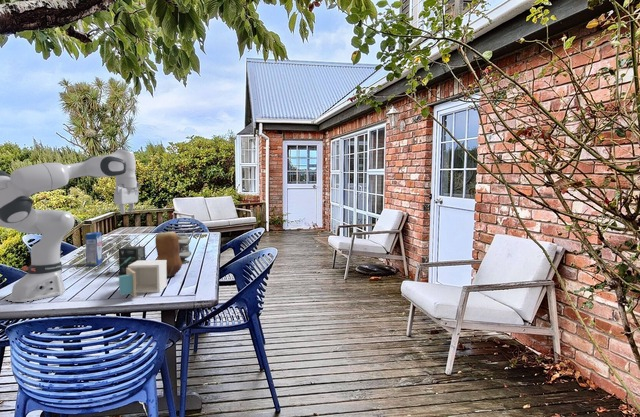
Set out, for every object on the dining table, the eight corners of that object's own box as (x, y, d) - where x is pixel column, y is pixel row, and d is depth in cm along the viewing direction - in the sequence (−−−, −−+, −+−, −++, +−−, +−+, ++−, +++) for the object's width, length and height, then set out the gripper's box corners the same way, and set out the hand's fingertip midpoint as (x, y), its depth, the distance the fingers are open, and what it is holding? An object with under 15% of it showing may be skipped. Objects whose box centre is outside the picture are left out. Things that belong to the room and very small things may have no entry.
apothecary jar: (168, 263, 250) (167, 235, 249) (184, 260, 259) (184, 233, 258) (177, 265, 242) (177, 237, 241) (195, 262, 251) (194, 235, 250)
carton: (159, 292, 183) (158, 264, 182) (128, 292, 181) (127, 265, 181) (167, 285, 195) (166, 259, 194) (138, 286, 193) (137, 260, 193)
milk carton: (97, 265, 241) (96, 234, 240) (86, 266, 239) (85, 234, 238) (102, 262, 251) (101, 232, 249) (92, 263, 249) (90, 232, 248)
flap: (121, 299, 167) (120, 274, 166) (115, 293, 177) (114, 269, 176) (136, 297, 170) (135, 272, 170) (129, 290, 181) (128, 267, 180)
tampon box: (146, 270, 228) (145, 246, 227) (137, 274, 219) (136, 248, 218) (128, 270, 229) (127, 245, 228) (119, 273, 220) (118, 248, 219)
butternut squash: (160, 273, 220) (159, 230, 218) (184, 273, 221) (183, 229, 220) (152, 279, 206) (151, 233, 205) (178, 279, 208) (177, 232, 206)
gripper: (124, 184, 174) (125, 214, 175) (140, 184, 194) (141, 211, 195) (109, 184, 173) (110, 215, 174) (127, 184, 194) (128, 211, 194)
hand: (127, 213), depth 185 cm, fingers open, 8 cm apart
